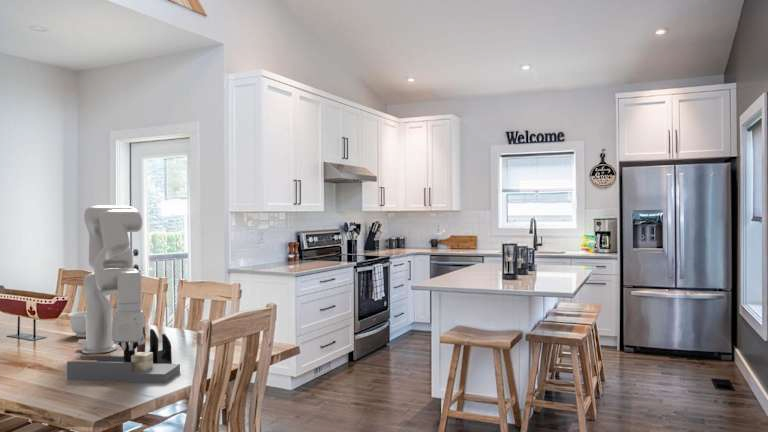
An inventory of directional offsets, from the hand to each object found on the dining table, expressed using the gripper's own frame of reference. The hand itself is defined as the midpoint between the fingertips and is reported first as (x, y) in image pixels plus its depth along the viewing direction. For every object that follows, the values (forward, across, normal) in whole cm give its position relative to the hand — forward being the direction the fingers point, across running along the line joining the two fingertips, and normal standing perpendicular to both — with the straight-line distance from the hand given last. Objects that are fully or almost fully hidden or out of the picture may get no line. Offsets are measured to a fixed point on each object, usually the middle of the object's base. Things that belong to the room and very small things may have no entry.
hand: (129, 361), depth 187 cm
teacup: (+5, -52, +58) cm, 78 cm away
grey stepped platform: (+5, -2, 0) cm, 6 cm away
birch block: (+2, +5, 0) cm, 5 cm away
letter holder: (+6, -2, +21) cm, 22 cm away
